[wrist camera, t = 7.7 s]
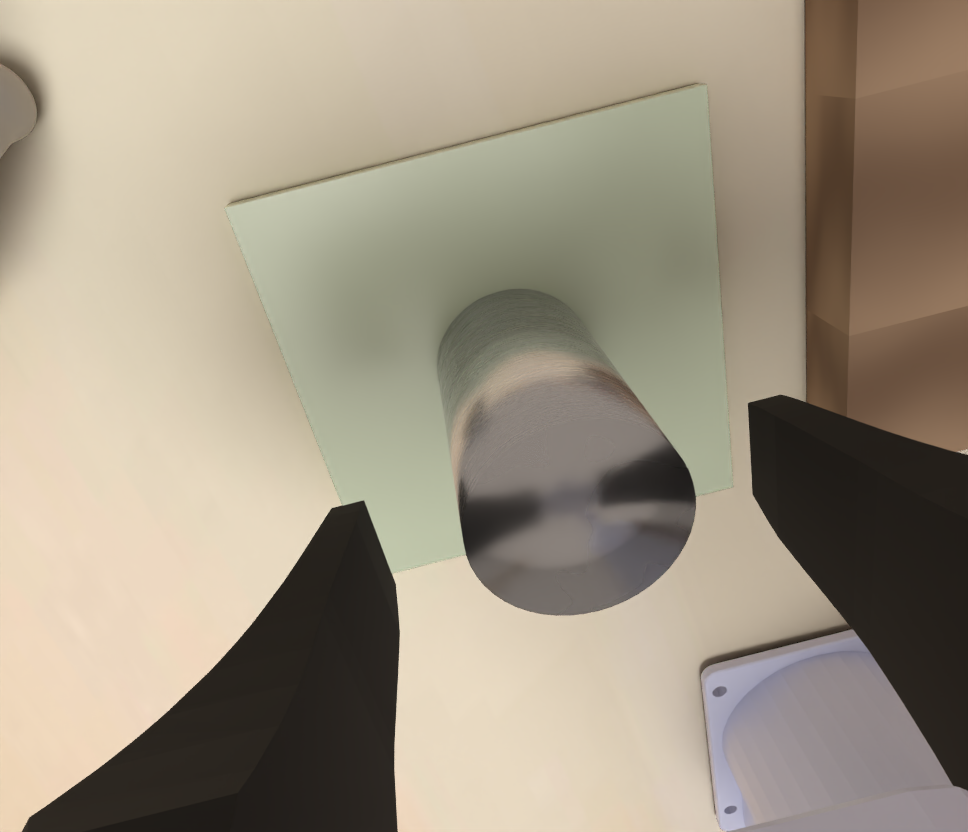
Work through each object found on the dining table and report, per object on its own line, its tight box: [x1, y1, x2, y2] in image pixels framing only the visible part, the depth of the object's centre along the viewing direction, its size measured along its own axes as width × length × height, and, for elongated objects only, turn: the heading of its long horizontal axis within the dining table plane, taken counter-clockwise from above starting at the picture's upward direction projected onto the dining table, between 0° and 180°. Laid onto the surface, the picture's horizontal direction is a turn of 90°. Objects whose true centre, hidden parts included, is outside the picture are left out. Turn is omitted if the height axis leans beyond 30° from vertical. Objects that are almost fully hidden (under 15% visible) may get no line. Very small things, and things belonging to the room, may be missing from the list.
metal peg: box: [437, 289, 696, 615], centre depth 15 cm, size 4×4×7 cm
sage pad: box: [224, 83, 733, 573], centre depth 18 cm, size 11×11×1 cm
